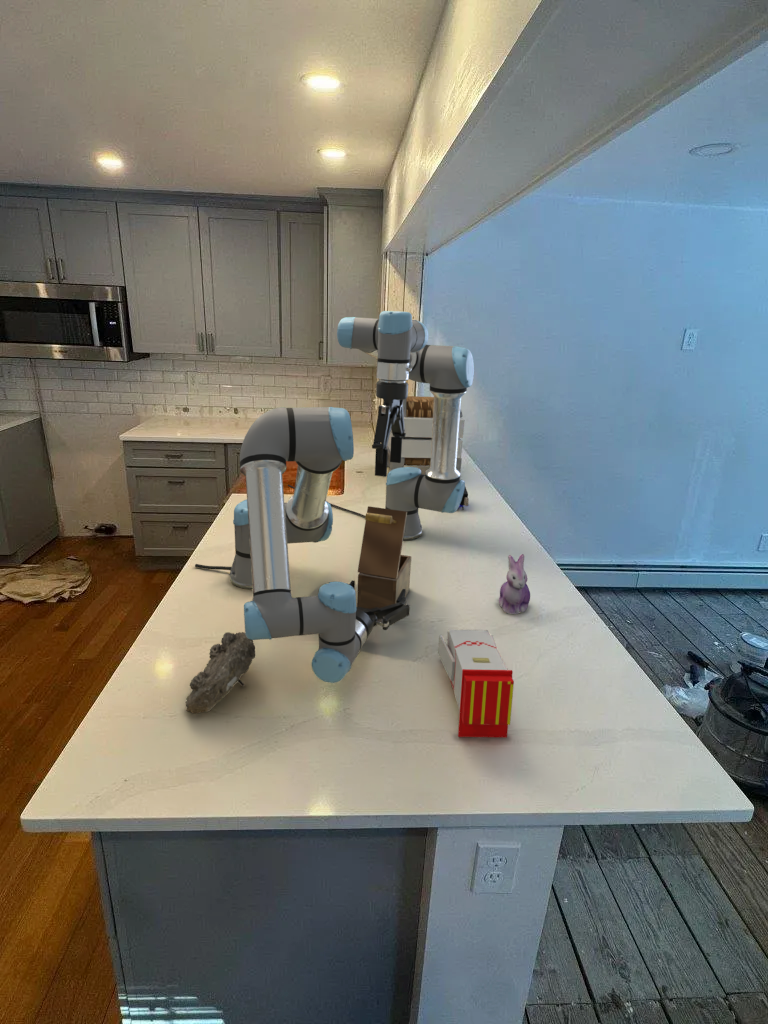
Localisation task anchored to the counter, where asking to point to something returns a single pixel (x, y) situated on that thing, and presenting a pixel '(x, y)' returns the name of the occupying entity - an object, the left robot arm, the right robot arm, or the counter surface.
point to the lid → (382, 542)
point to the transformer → (420, 434)
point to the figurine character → (464, 499)
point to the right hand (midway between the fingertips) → (388, 468)
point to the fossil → (221, 672)
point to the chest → (383, 586)
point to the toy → (478, 682)
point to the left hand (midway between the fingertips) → (378, 589)
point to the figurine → (515, 588)
